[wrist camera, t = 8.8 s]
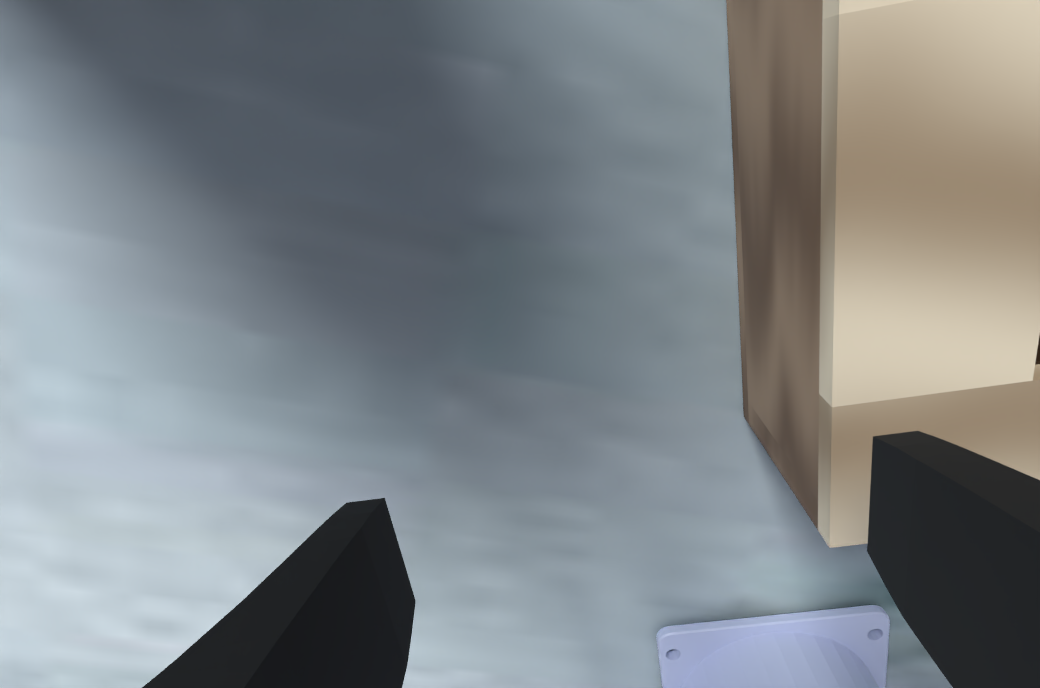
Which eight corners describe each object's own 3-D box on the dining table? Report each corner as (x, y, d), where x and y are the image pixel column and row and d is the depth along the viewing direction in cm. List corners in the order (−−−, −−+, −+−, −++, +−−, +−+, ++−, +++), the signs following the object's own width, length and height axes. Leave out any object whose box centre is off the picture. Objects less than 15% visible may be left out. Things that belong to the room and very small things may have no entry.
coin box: (1123, 365, 18) (1388, 484, 12) (743, 416, 19) (829, 547, 13) (1248, -233, 13) (1793, -491, 7) (721, -122, 14) (844, -272, 8)
